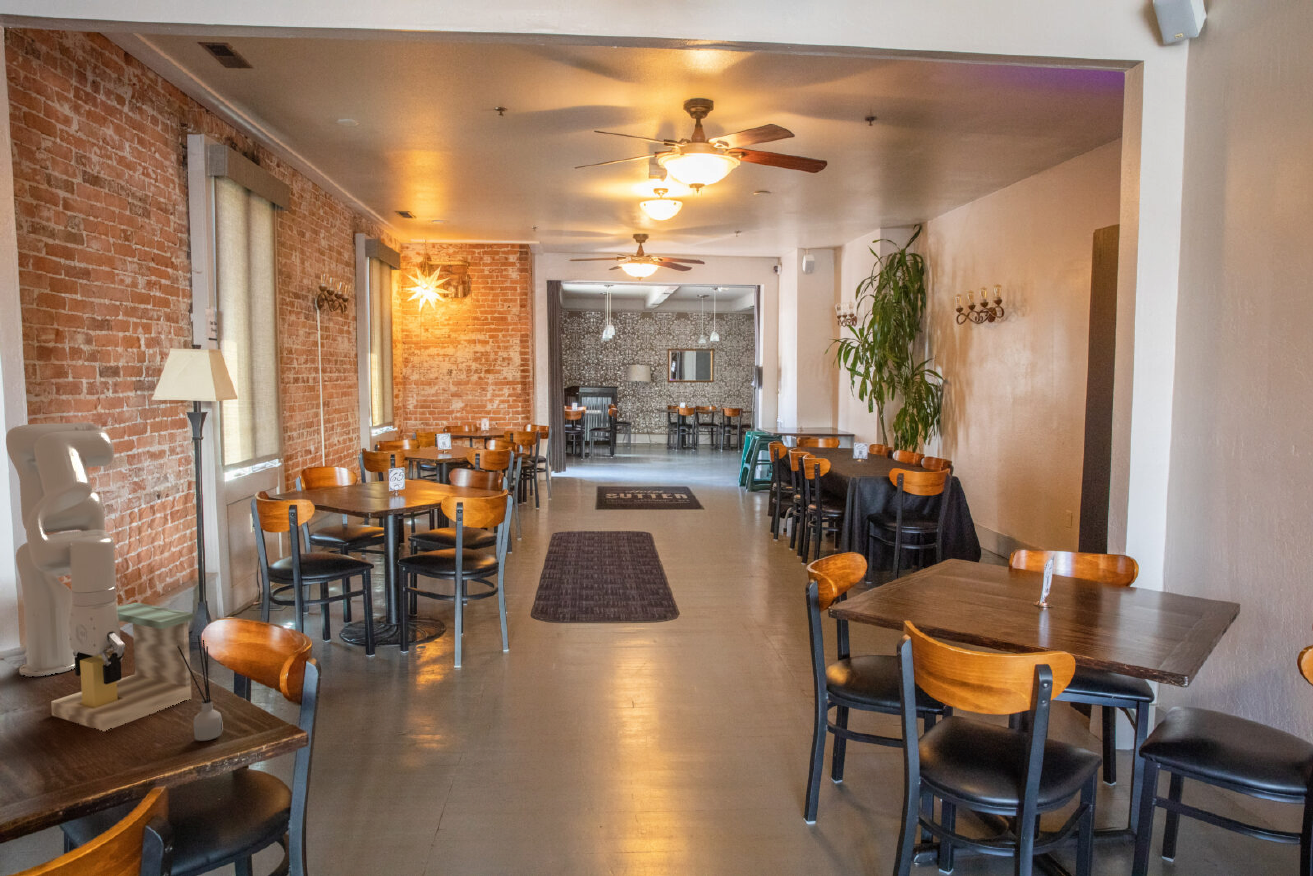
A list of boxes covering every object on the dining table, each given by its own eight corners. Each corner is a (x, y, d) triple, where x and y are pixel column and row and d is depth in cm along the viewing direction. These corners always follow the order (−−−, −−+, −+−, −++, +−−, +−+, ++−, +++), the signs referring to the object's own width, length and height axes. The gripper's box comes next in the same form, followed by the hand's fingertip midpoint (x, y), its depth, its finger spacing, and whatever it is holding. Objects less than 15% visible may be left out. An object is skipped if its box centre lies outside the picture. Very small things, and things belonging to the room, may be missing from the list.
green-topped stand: (49, 714, 165) (44, 625, 164) (139, 684, 182) (135, 602, 181) (107, 732, 157) (102, 638, 155) (196, 698, 173) (192, 613, 172)
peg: (83, 717, 164) (79, 660, 163) (105, 709, 168) (102, 653, 167) (95, 721, 162) (92, 663, 161) (118, 712, 166) (115, 656, 165)
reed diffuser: (227, 743, 152) (223, 640, 150) (186, 754, 147) (181, 648, 146) (216, 726, 159) (212, 628, 158) (177, 735, 155) (172, 635, 154)
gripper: (50, 595, 164) (54, 676, 165) (100, 607, 156) (104, 691, 158) (89, 587, 170) (93, 665, 172) (139, 597, 163) (142, 679, 164)
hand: (98, 677), depth 165 cm, fingers open, 9 cm apart
